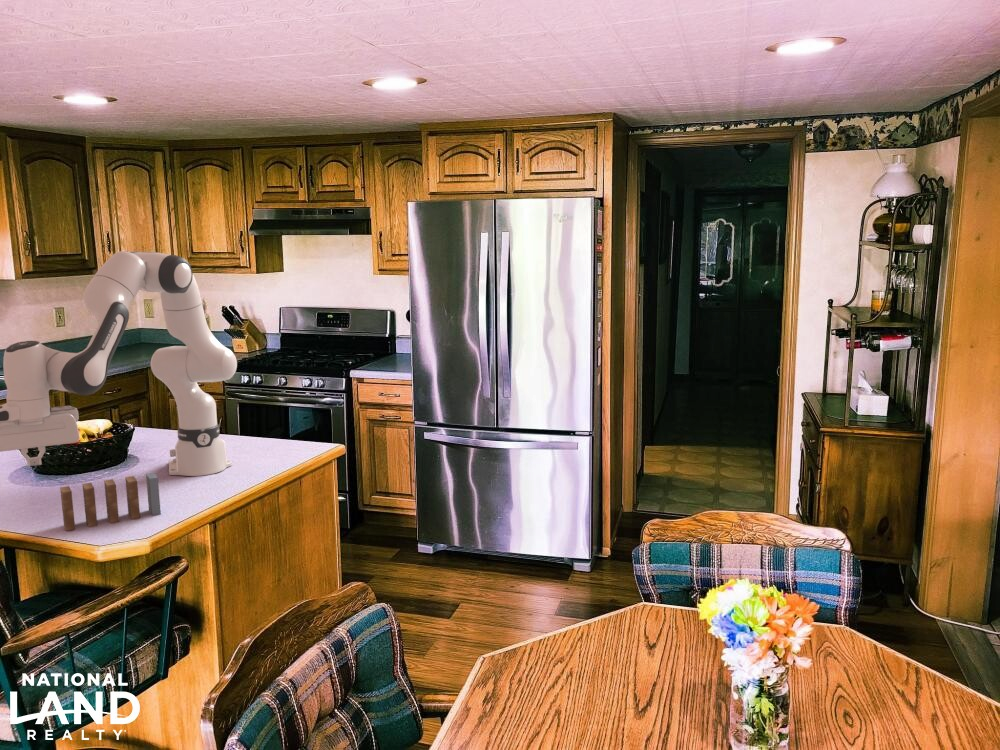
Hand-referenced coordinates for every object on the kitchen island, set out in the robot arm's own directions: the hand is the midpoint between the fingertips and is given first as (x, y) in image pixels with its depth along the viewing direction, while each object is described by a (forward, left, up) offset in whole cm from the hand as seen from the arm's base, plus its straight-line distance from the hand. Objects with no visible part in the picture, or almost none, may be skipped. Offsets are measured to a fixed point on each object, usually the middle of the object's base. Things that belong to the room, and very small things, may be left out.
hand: (34, 465), depth 194 cm
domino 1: (0, +6, -17) cm, 18 cm away
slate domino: (0, +26, -17) cm, 31 cm away
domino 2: (0, +11, -17) cm, 21 cm away
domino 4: (0, +21, -17) cm, 27 cm away
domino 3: (0, +16, -17) cm, 24 cm away
